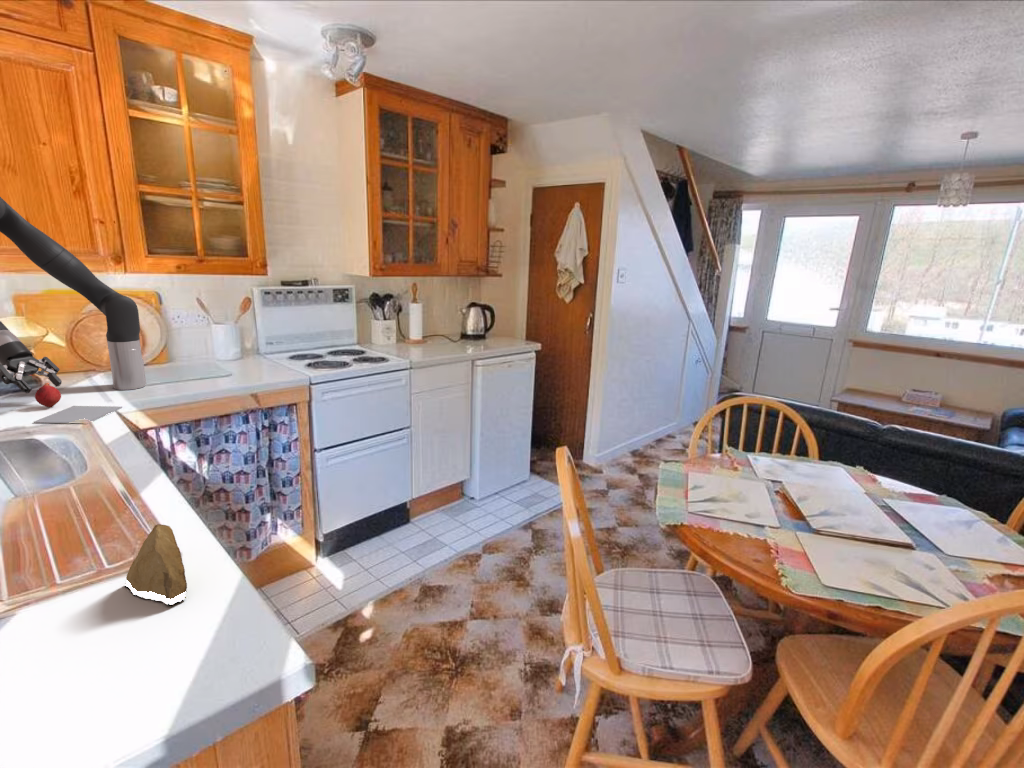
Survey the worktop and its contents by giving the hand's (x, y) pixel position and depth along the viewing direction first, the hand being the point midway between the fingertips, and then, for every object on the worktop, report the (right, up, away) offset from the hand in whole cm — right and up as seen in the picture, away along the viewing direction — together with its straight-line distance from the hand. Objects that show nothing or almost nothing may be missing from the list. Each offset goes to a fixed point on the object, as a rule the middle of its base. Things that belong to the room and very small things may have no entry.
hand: (44, 388), depth 153 cm
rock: (+90, -31, -77) cm, 122 cm away
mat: (+14, -8, -4) cm, 17 cm away
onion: (0, -6, +1) cm, 6 cm away
